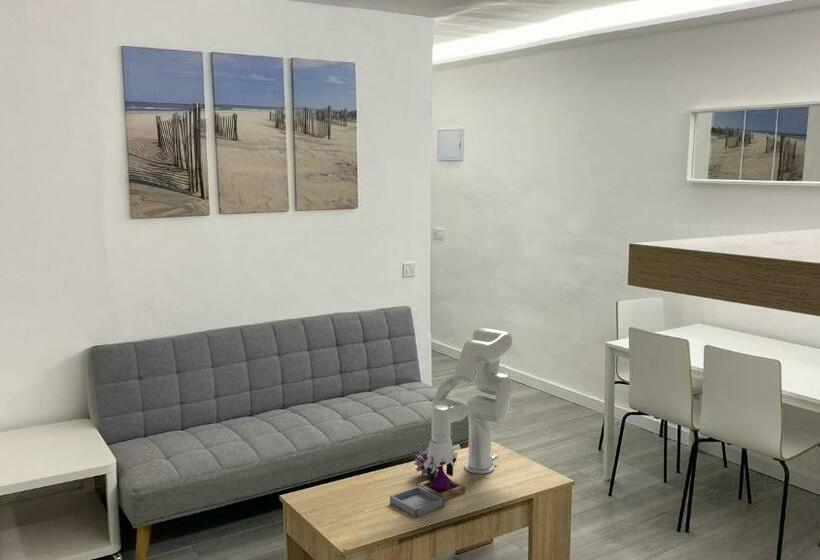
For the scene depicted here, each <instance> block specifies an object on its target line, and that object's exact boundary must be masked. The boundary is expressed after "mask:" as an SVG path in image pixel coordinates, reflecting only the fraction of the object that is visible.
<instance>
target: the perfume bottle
mask: <svg viewBox="0 0 820 560" xmlns="http://www.w3.org/2000/svg"><path fill="white" fill-rule="evenodd" d="M442 460H443V459H442ZM443 464H445V462H442V463H440V465H443ZM450 479H451V478H449V476H448V474H446V473H445V471H444V465H443V466H440V467H438V469H437V474H436V475H435V482H434V483H432V482H431V485H430V489H432V490H434V491H436V492H438V493H442V492H445V491H448V490H450V487H449V486H450V484H451V480H452V479H451V480H450Z"/></svg>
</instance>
